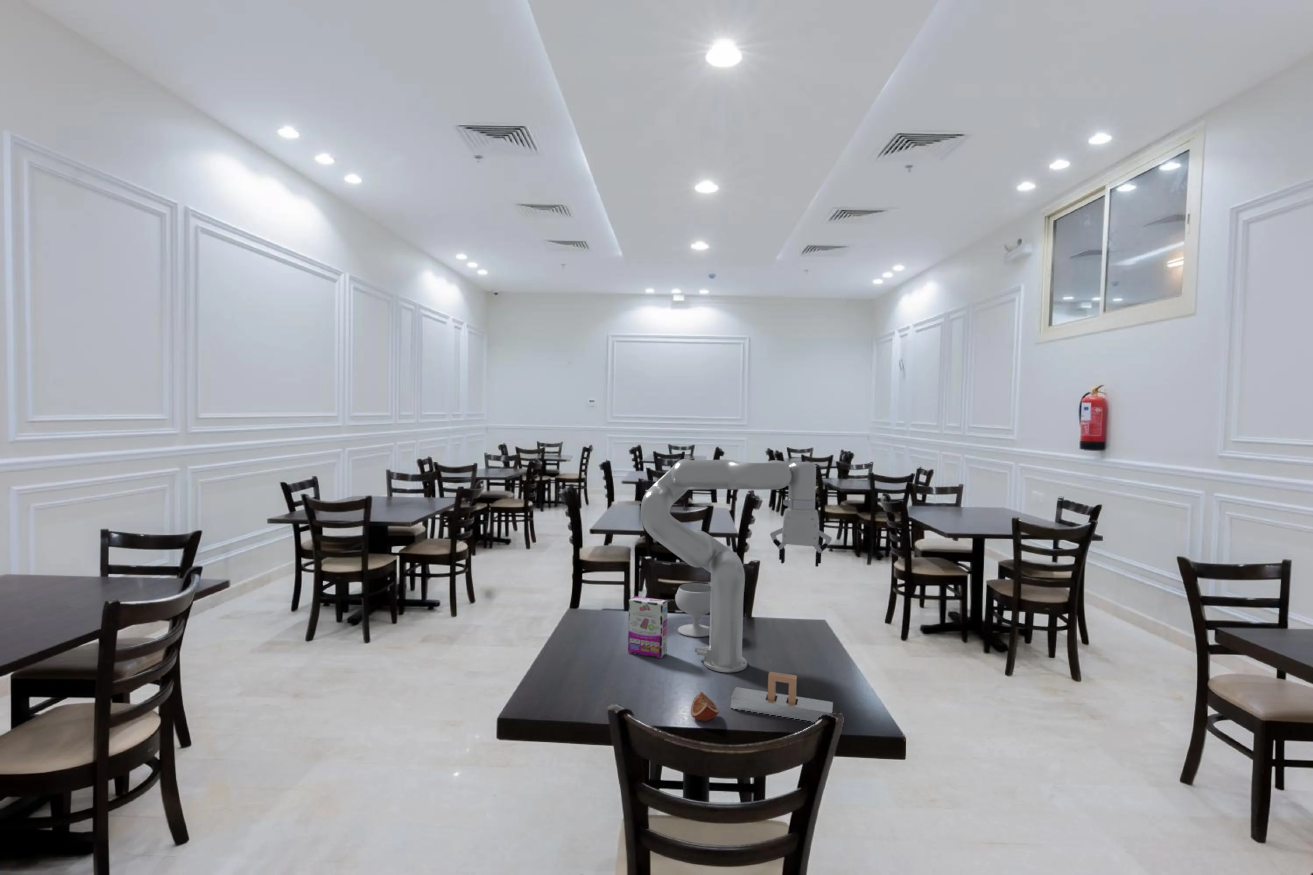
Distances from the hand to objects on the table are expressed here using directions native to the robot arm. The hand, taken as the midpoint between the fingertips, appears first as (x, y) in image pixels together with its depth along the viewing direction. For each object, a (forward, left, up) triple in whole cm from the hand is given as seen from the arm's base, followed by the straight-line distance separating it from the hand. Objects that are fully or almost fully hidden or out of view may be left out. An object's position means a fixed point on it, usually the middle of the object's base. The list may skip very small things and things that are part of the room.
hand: (799, 564), depth 180 cm
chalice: (-35, +19, -31) cm, 50 cm away
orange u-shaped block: (-1, -29, -30) cm, 42 cm away
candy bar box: (-44, -5, -31) cm, 54 cm away
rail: (-1, -29, -30) cm, 42 cm away
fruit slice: (-18, -39, -31) cm, 53 cm away
